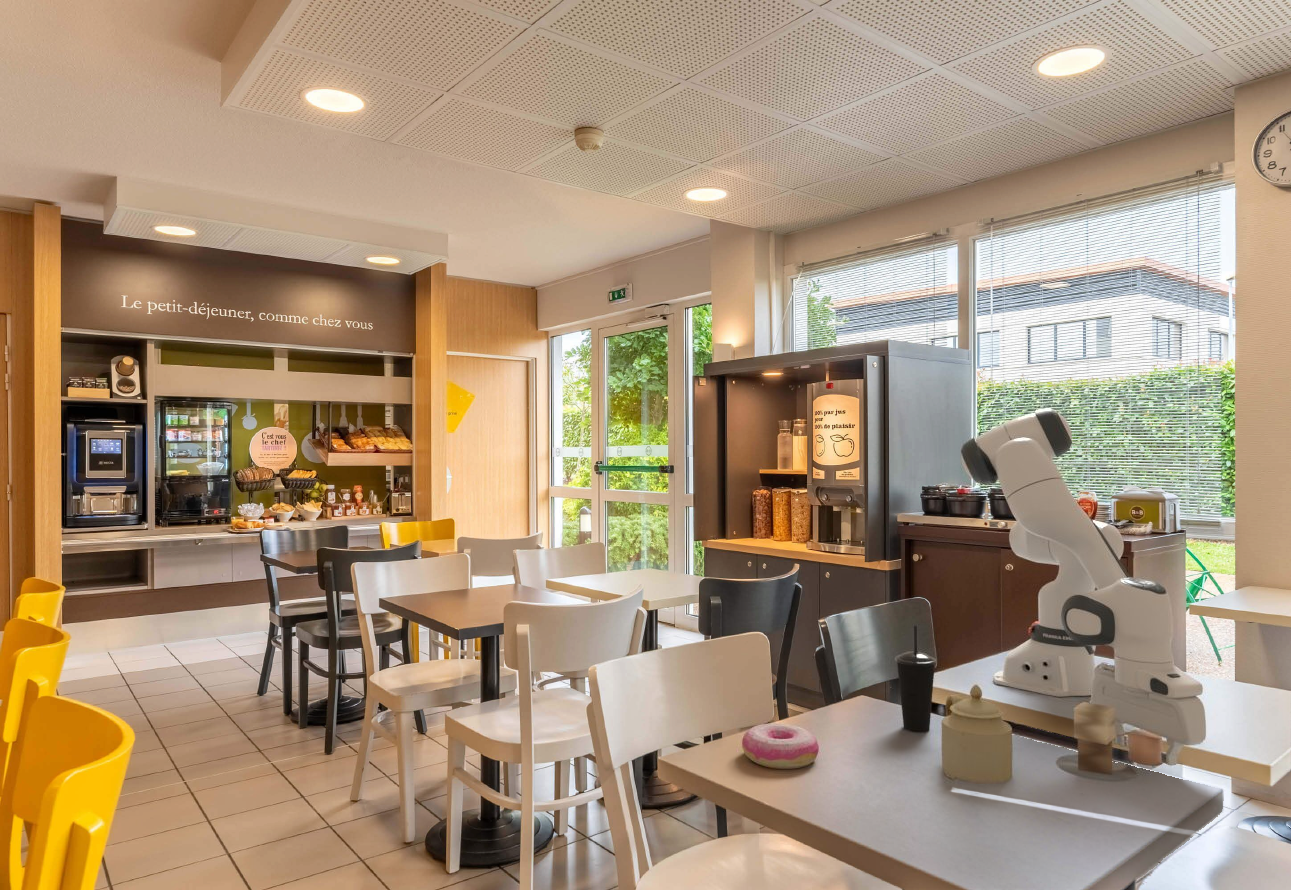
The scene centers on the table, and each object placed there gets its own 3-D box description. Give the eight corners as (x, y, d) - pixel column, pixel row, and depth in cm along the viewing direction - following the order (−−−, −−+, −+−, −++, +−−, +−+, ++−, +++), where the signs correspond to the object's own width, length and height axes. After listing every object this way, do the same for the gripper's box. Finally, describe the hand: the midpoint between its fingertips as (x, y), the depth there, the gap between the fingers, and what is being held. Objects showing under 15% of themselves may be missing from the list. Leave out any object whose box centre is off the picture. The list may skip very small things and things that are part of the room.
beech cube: (1074, 737, 140) (1073, 708, 140) (1083, 730, 144) (1083, 701, 144) (1106, 744, 137) (1106, 714, 137) (1115, 737, 140) (1115, 707, 140)
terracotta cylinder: (1126, 764, 143) (1125, 735, 143) (1131, 756, 147) (1130, 728, 147) (1160, 771, 140) (1159, 741, 140) (1164, 763, 144) (1163, 734, 144)
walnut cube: (1078, 769, 139) (1077, 739, 139) (1079, 759, 143) (1078, 730, 144) (1112, 774, 137) (1111, 744, 137) (1112, 765, 141) (1111, 735, 141)
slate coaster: (1047, 772, 139) (1047, 769, 139) (1065, 753, 148) (1065, 749, 148) (1129, 790, 132) (1129, 786, 132) (1142, 768, 141) (1142, 765, 141)
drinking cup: (896, 732, 160) (894, 628, 160) (896, 720, 167) (895, 621, 168) (937, 736, 158) (936, 631, 158) (936, 723, 165) (935, 623, 166)
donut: (776, 779, 138) (776, 749, 138) (726, 756, 149) (725, 728, 149) (834, 763, 145) (834, 734, 145) (782, 741, 156) (781, 714, 156)
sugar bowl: (910, 762, 144) (909, 676, 145) (952, 751, 150) (951, 667, 150) (983, 792, 132) (982, 697, 132) (1027, 778, 137) (1025, 687, 137)
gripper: (1081, 661, 153) (1082, 736, 152) (1182, 690, 133) (1183, 777, 133) (1108, 658, 154) (1110, 733, 154) (1212, 687, 135) (1213, 773, 135)
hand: (1144, 754), depth 143 cm, fingers open, 8 cm apart
